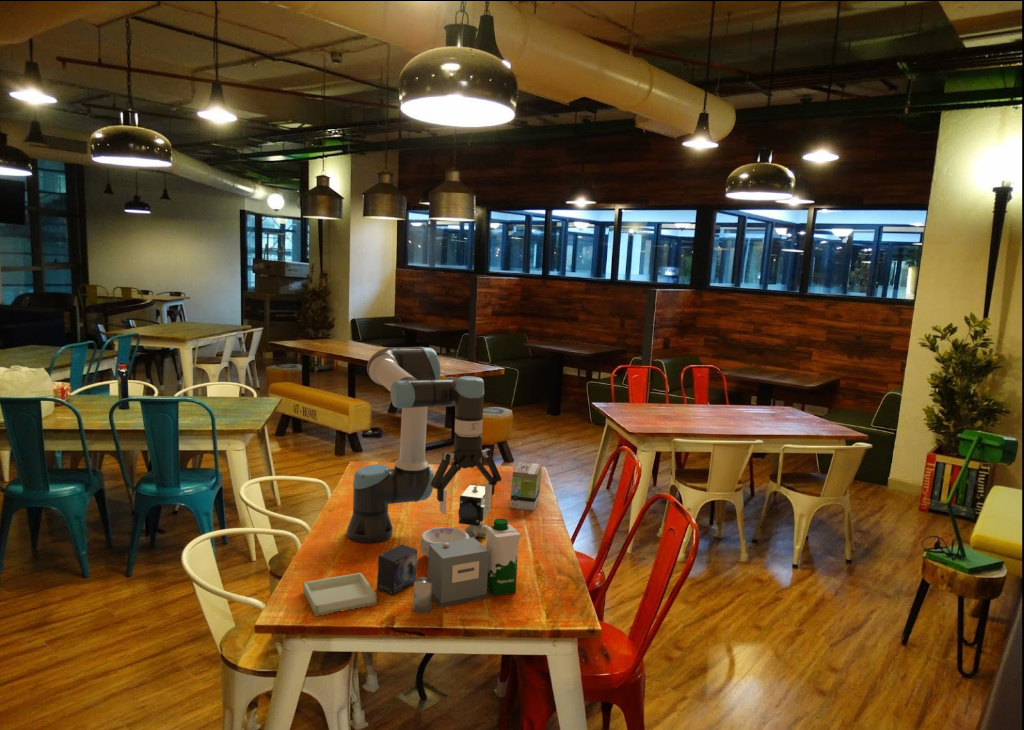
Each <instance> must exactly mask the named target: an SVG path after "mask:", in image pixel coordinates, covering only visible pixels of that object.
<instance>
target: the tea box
mask: <svg viewBox="0 0 1024 730" xmlns="http://www.w3.org/2000/svg"><path fill="white" fill-rule="evenodd" d="M542 466H543V465H542V464H541V463H532V462H523V461H517V464H516V466H515V467H514V469H513V471H512V476H511V478H512V479H511V491H510V500H509V501H510V503H509V505H510V506H509V508H511V509H517V510H525V511H535V510H536V507H537V504H538V502H539V500H540V493H541V479H542Z"/></svg>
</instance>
